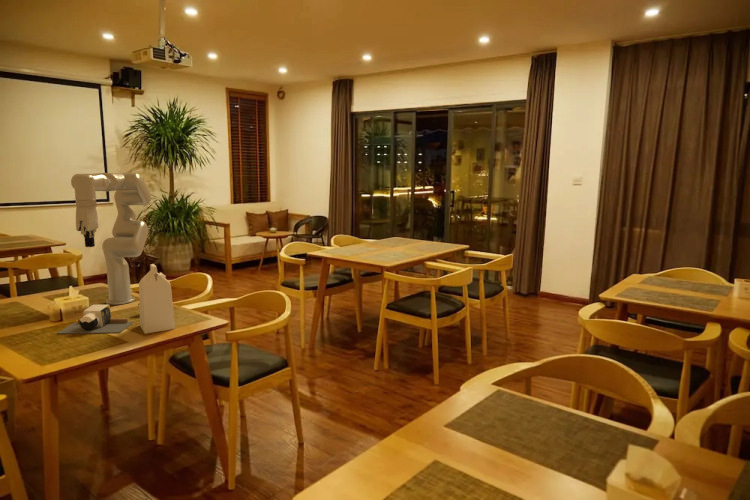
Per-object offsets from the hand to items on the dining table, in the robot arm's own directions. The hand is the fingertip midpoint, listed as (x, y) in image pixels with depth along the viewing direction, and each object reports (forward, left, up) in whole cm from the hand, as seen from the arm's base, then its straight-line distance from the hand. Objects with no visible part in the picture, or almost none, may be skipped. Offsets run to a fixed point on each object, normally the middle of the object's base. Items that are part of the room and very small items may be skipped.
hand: (90, 246), depth 211 cm
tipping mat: (+17, +8, -31) cm, 36 cm away
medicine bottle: (+10, +8, -26) cm, 29 cm away
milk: (+16, +32, -31) cm, 48 cm away
